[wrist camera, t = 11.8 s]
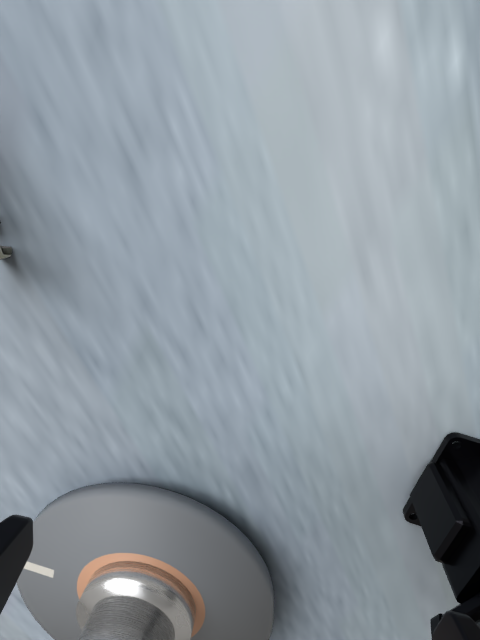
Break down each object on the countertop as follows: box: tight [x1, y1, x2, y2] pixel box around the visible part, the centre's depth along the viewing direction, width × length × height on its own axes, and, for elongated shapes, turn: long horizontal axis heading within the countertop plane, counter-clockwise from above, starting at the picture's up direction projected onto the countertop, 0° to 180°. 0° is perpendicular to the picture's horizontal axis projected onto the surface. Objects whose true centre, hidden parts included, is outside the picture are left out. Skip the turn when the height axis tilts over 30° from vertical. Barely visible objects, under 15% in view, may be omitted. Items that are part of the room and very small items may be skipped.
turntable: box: [17, 483, 274, 640], centre depth 26 cm, size 18×18×1 cm
